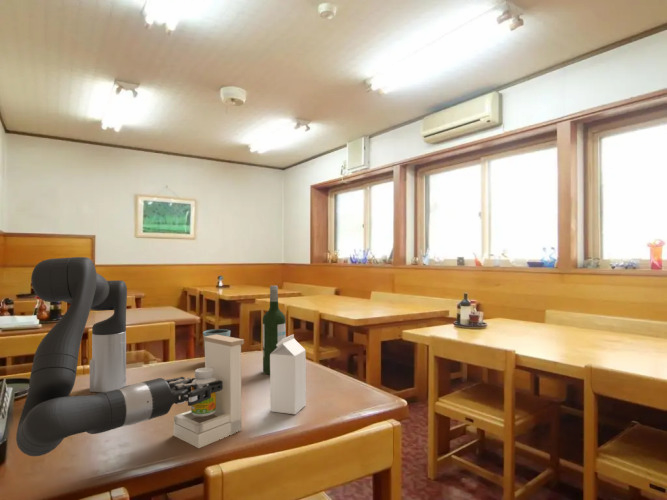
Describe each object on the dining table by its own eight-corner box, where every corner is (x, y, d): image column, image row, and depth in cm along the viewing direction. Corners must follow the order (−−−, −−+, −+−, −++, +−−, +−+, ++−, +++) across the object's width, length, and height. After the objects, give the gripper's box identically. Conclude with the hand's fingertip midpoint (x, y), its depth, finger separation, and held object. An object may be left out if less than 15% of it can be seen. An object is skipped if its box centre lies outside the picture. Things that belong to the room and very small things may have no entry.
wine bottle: (266, 368, 149) (266, 285, 149) (288, 369, 148) (287, 285, 148) (260, 374, 141) (259, 286, 141) (282, 375, 140) (281, 286, 140)
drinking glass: (204, 367, 151) (204, 334, 151) (201, 360, 161) (201, 329, 161) (232, 364, 155) (232, 332, 155) (228, 357, 165) (228, 327, 165)
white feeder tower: (199, 448, 87) (199, 348, 87) (172, 435, 94) (172, 342, 94) (244, 430, 96) (244, 339, 96) (216, 418, 103) (216, 334, 103)
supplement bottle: (193, 418, 90) (193, 374, 90) (189, 410, 95) (189, 368, 95) (218, 414, 93) (218, 370, 93) (213, 407, 97) (213, 365, 98)
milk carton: (306, 405, 111) (305, 335, 112) (295, 415, 105) (294, 340, 105) (282, 402, 114) (281, 333, 114) (270, 412, 107) (269, 338, 107)
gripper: (159, 389, 78) (233, 371, 91) (125, 376, 87) (196, 361, 101) (159, 429, 78) (233, 405, 91) (125, 412, 87) (196, 392, 100)
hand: (213, 382), depth 96 cm, fingers closed on supplement bottle, 5 cm apart
